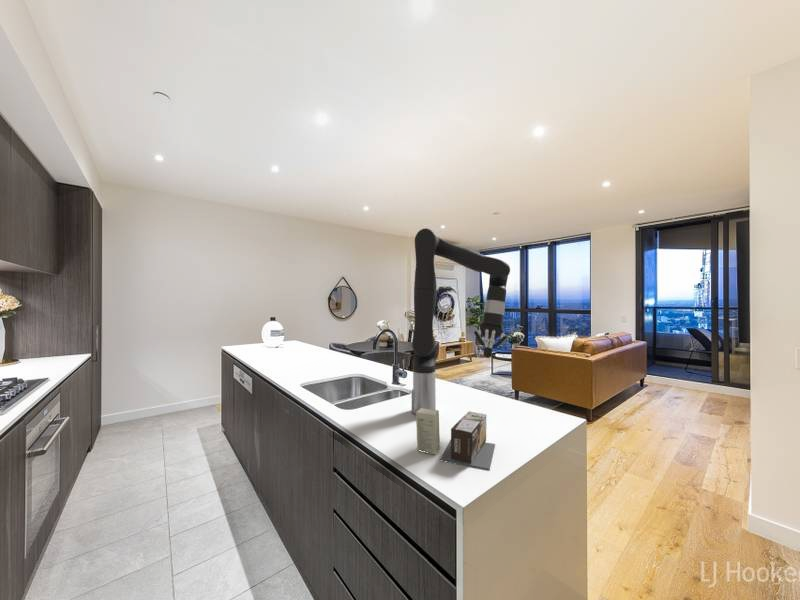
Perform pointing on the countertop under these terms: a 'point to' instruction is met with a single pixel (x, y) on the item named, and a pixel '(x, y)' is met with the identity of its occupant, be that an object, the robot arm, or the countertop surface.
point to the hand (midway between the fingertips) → (487, 357)
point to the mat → (479, 461)
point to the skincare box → (428, 430)
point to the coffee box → (468, 436)
